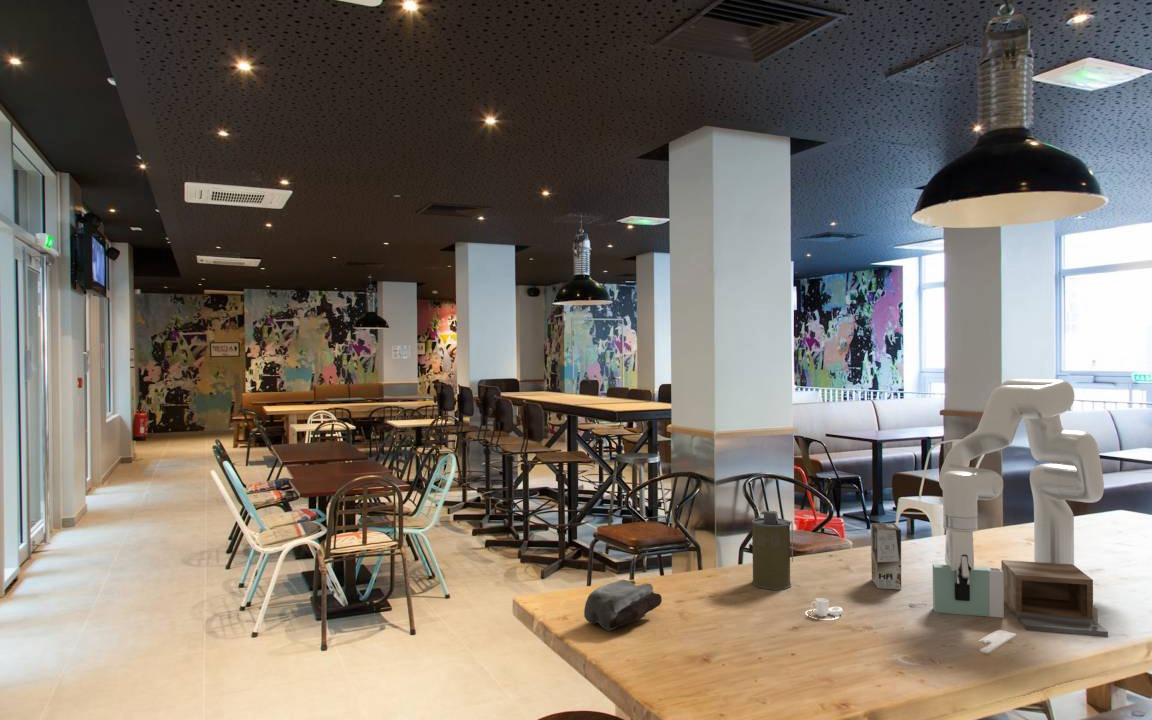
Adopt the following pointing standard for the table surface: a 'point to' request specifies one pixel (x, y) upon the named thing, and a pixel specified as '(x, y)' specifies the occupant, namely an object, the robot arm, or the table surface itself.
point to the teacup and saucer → (825, 609)
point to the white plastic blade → (996, 640)
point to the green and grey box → (982, 592)
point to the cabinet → (1051, 597)
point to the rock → (620, 603)
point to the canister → (771, 551)
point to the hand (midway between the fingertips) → (960, 597)
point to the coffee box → (886, 555)
